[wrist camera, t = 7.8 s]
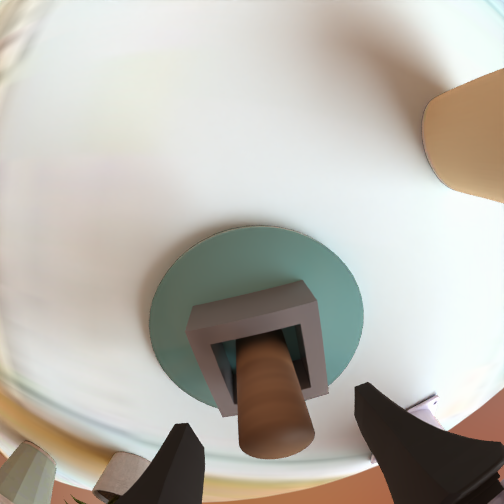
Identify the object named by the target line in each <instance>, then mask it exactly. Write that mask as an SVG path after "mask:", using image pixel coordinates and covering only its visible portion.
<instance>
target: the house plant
mask: <svg viewBox="0 0 504 504" xmlns="http://www.w3.org/2000/svg"><path fill="white" fill-rule="evenodd" d="M150 463H151V462H150V461H148V460H146V459H144V458H142V457H140V456H137V455H134V454H130V453H126V452H117V453H115V454H114V455H113V457H112V459H111V460H110V462H109V463H108V465H107V467H106V468H105V470H104V472H103V473H102V475H101V477H100V478H99V480H98V482H97V483H96V485H95V487H94V488H93V490H92V491H93V494H94V495H95V496H96V497H97V498H98V499H99V500H101V501H103V502H104V503H106V504H113V503H114V502H115V501H117V500H118V499H119V498H120V497H121V496H122V495H123V494H124V493H126V492H127V491H128V490H129V489H130V488H131V487H132V485H133V484H134V483H135V482H136V481H137V480H138V479H139V478H140V476H141V475H142V474H143V472H144V471H145V470H146V468H147V467H148V466H149V464H150ZM72 497H73V496H72ZM73 499H74V500H75V501H76V502H77V503H79V504H86V503H83V502H81V501H79V500H77V499H75V498H74V497H73ZM65 502H66V501H65ZM66 504H67V502H66Z"/></svg>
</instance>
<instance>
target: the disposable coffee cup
mask: <svg viewBox="0 0 504 504" xmlns="http://www.w3.org/2000/svg"><path fill="white" fill-rule="evenodd" d="M55 473H56V463H55V461H54V460H53V459H52V457H51V456H50V455H49V454H47V453H46V452H45V451H43V450H42V449H41V448H40V447H38V446H36V445H35V444H33V443H31V442H28V441H25V442H24V443H21V444H20V445H19V447H18V448H17V449H16V450H15V451H14V452H13V454H12V455H11V456H10V457H9V458H8V460H7V461H6V462H5V463H4V464H3V465H2V467H1V468H0V504H50V502H51V496H52V490H53V484H54V479H55Z"/></svg>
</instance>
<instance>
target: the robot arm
mask: <svg viewBox="0 0 504 504" xmlns="http://www.w3.org/2000/svg"><path fill="white" fill-rule="evenodd" d="M438 400H439V396H438V395H435V396H434V397H432V398H430V399H428V400H426V401H425V402H423V403H421V404H419V405H417V406H415V407H413V408H411V409H409V410H407V411H406V410H404V409H403V408H401V407H400V406H398V405H397V404H396V403H394V402H393V401H391V400H390V399H389V398H388V397H386V396H385V395H384V394H382V393H381V392H380V391H379V390H377V389H376V388H375V387H374V386H373V385H372V384H370V383H369V382H367V383H364V384H361V385H359V386H356V387H355V412H354V415H355V418H356V421H357V423H358V426H359V428H360V431H361V433H362V435H363V437H364V439H365V441H366V443H367V444H368V446H369V448H370V450H371V452H372V456H371V463H372V464H373V463H376V462H378V464H379V466H380V468H381V470H382V472H383V474H384V477H385V479H386V482H387V484H388V487H389V490H390V493H391V495H392V498H393V501H394V504H504V480H502V481H501V482H499V480H498V478H499V477H500V475H499V474H498V472H497V471H498V470H499V469H500V468H501V467H502V466H503V465H504V445H503V444H502V443H501V442H493V441H484V440H477V439H472V438H467V437H464V436H460V435H457V434H454V433H450V432H447V431H445V429H444V428H443V427H442V425H441V424H440V423H439V421H438V420H437V419H436V417H435V416H434V412H435V410H436V407H437V403H438ZM204 472H205V455H204V447H203V445H202V444H201V442H200V441H199V439H198V438H197V436H196V435H195V433H194V432H193V430H192V428H191V427H190V425H189V424H188V423H181V424H175V425H174V426H173V428H172V430H171V431H170V433H169V435H168V436H167V438H166V440H165V442H164V443H163V445H162V446H161V448H160V450H159V451H158V453H157V454H156V456H155V457H154V459H153V460H152V462H151V463H150V464H149V466H148V467H147V468H146V470H145V471H144V472H143V474H142V475H141V476H140V478H139V479H138V480H137V481H136V482H135V483H134V484H133V485H132V487H131V488H130V489H129V490H128V491H127V492H126V493H124V494H123V495H122V496H121V497H120V498H119V499H118V500H117V501H115V502H114V503H113V504H202V494H203V483H204Z"/></svg>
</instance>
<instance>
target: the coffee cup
mask: <svg viewBox="0 0 504 504" xmlns="http://www.w3.org/2000/svg"><path fill="white" fill-rule="evenodd" d="M422 140H423V145H424V150H425V153H426V156H427V158H428V161H429V164H430V165H431V167H432V169H433V171H434V173H435V174H436V175H437V177H438V178H439V179H440V181H442V182H443V183H444V184H445V185H446V186H447V187H449V188H451V189H453V190H455V191H459V192H462V193H466V194H470V195H474V196H478V197H482V198H486V199H490V200H493V201H497V202H501V203H504V68H503V69H500V70H497V71H495V72H492V73H489V74H487V75H484V76H482V77H479V78H477V79H475V80H472V81H470V82H467V83H465V84H463V85H461V86H458V87H456V88H454V89H451V90H449V91H447V92H445V93H443V94H441V95H439V96H437V97H435V98H434V99H432V100H431V101H430V102H429V103H428V105H427V107H426V108H425V111H424V114H423V118H422Z"/></svg>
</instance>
